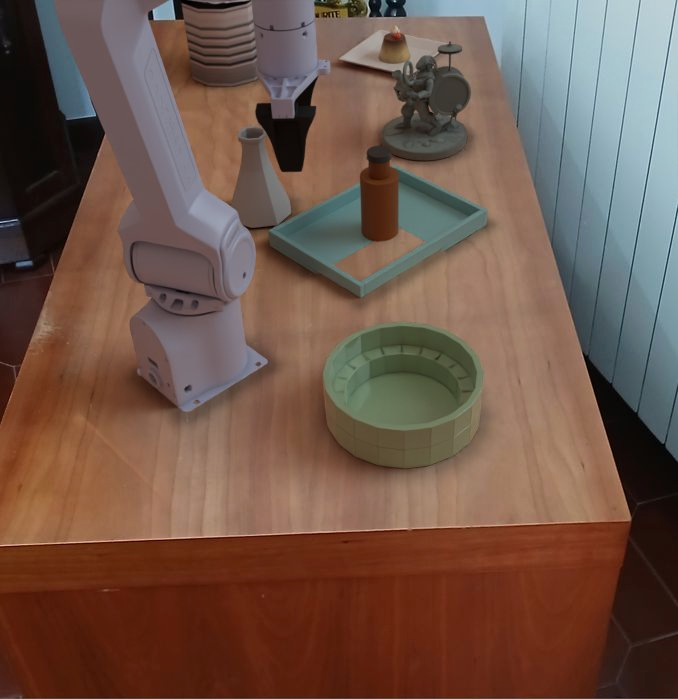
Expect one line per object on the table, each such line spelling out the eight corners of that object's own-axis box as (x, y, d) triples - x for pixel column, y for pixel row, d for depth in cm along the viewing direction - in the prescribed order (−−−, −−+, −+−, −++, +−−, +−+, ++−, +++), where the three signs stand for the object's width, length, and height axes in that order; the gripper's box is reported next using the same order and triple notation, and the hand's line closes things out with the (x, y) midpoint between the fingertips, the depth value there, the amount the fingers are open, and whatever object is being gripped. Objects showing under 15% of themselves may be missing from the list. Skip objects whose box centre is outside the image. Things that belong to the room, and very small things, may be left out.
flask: (283, 232, 101) (276, 151, 95) (220, 227, 103) (209, 146, 96) (299, 197, 107) (292, 118, 100) (239, 193, 108) (229, 114, 101)
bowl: (404, 499, 72) (404, 456, 69) (294, 415, 80) (290, 372, 77) (511, 414, 79) (516, 371, 76) (400, 344, 86) (401, 302, 83)
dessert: (411, 82, 129) (411, 49, 125) (338, 66, 134) (336, 33, 130) (449, 50, 136) (451, 18, 133) (379, 36, 141) (379, 4, 138)
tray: (360, 302, 92) (360, 286, 90) (269, 245, 100) (267, 230, 98) (486, 225, 101) (488, 209, 100) (394, 179, 109) (394, 164, 108)
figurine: (375, 124, 120) (374, 34, 112) (456, 116, 120) (461, 26, 113) (389, 164, 112) (389, 70, 104) (476, 156, 112) (482, 61, 105)
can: (178, 65, 136) (165, -18, 128) (248, 47, 140) (240, -34, 132) (207, 94, 128) (195, 8, 120) (281, 75, 132) (274, -10, 124)
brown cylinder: (379, 246, 98) (378, 165, 92) (353, 231, 100) (351, 151, 94) (406, 230, 100) (406, 150, 94) (380, 216, 102) (379, 137, 96)
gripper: (323, 50, 79) (330, 187, 88) (330, -11, 90) (336, 117, 99) (242, 52, 80) (257, 188, 89) (259, -9, 91) (271, 118, 100)
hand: (294, 151), depth 94 cm, fingers open, 7 cm apart
